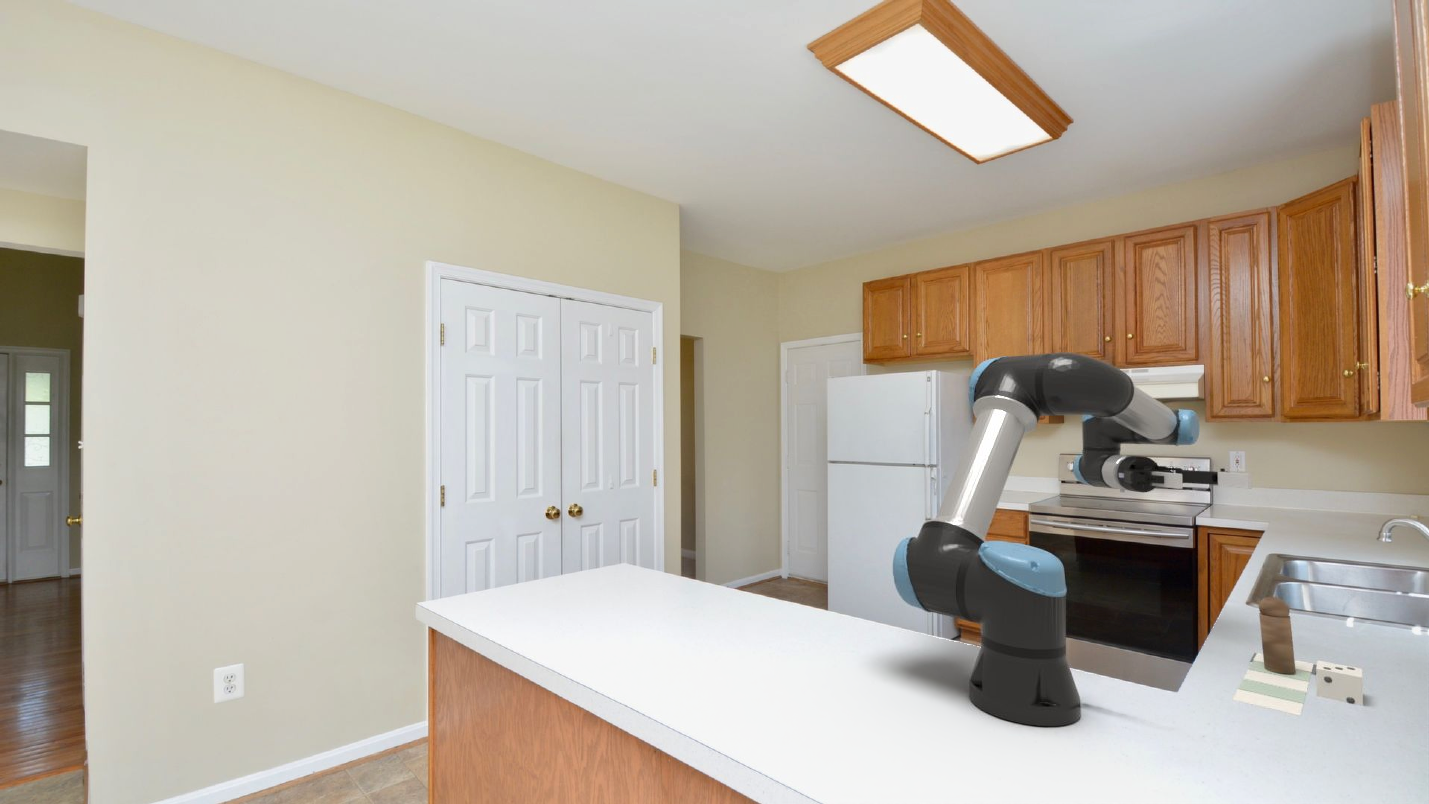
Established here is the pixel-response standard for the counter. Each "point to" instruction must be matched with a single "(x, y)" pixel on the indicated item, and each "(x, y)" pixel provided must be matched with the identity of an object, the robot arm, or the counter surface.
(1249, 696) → the board
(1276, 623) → the pawn
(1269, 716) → the counter surface
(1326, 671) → the die
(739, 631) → the counter surface
